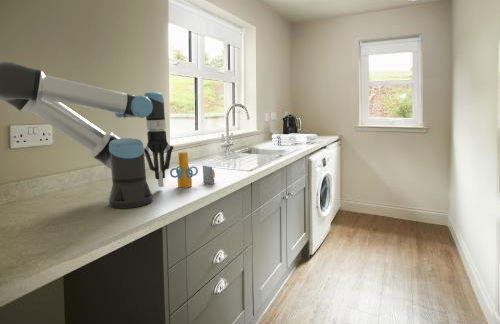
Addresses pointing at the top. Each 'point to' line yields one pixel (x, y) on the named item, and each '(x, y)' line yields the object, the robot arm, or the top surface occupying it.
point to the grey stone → (208, 174)
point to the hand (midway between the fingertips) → (160, 186)
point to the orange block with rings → (184, 171)
